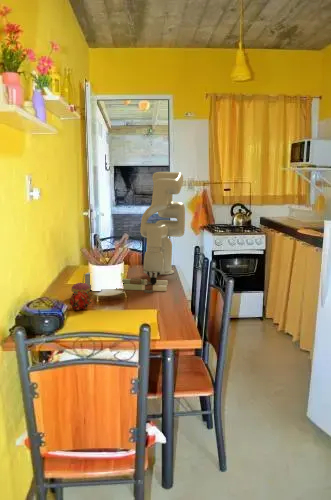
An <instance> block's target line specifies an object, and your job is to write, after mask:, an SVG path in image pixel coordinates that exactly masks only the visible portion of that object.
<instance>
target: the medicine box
mask: <svg viewBox="0 0 331 500" xmlns="http://www.w3.org/2000/svg"><path fill="white" fill-rule="evenodd" d="M90 273H91V272H85V273H84V274H85V277H84V283H86V284H88V285H89V286H90V290H91V285H90Z"/></svg>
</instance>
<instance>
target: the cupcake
mask: <svg viewBox="0 0 331 500" xmlns="http://www.w3.org/2000/svg"><path fill="white" fill-rule="evenodd" d="M85 274H86V272H83V275H82V282H77V283H75V284H73V285H72V286H71V292H73V293H78V291H81V292H83V291H86V292H87V293H88V294H89V292H91V291H90V286H89V285H88V284H86V283H85Z"/></svg>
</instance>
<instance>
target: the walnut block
mask: <svg viewBox="0 0 331 500" xmlns="http://www.w3.org/2000/svg"><path fill="white" fill-rule="evenodd" d="M130 279H131V280H130V284H135V285H141V280H142V278H136V277H135V278H134V277H133V278H132V277H131V278H130Z"/></svg>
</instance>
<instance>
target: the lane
mask: <svg viewBox="0 0 331 500" xmlns="http://www.w3.org/2000/svg"><path fill="white" fill-rule="evenodd" d="M122 279H123V282H124V284H123V286H124V289H123V290H125V291H126V290H128V291H130V290H131V291H144V290H146V286H147V285H148V284H147V283H148V279H141V285H135V284H130V280H131V278H122ZM168 283H169V281H168V279H167V280H166V279H165V280H164V279H163V280H160V279H156V283H155V285H152V290H153V291H152V292H167V290H168V288H167V287H168V285H169V284H168Z"/></svg>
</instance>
